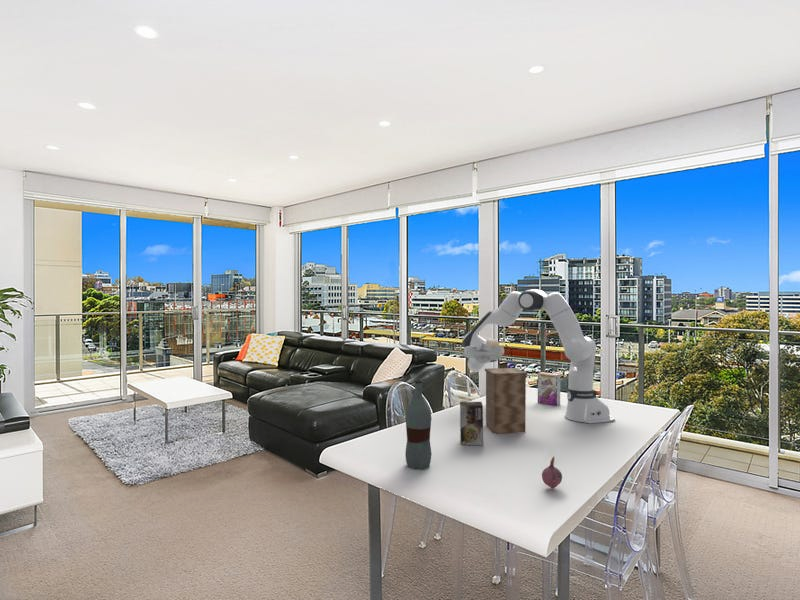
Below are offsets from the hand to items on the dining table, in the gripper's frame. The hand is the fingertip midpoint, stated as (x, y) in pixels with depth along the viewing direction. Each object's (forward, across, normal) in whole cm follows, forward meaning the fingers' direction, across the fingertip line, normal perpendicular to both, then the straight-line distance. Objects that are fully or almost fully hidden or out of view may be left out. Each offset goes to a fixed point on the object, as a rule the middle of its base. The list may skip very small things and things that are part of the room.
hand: (487, 345), depth 234 cm
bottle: (+39, -45, +62) cm, 86 cm away
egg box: (+3, 0, +4) cm, 5 cm away
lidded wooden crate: (+6, 0, +43) cm, 43 cm away
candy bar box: (-33, +40, +21) cm, 56 cm away
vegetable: (+60, -7, +74) cm, 96 cm away
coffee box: (+20, -20, +52) cm, 59 cm away
